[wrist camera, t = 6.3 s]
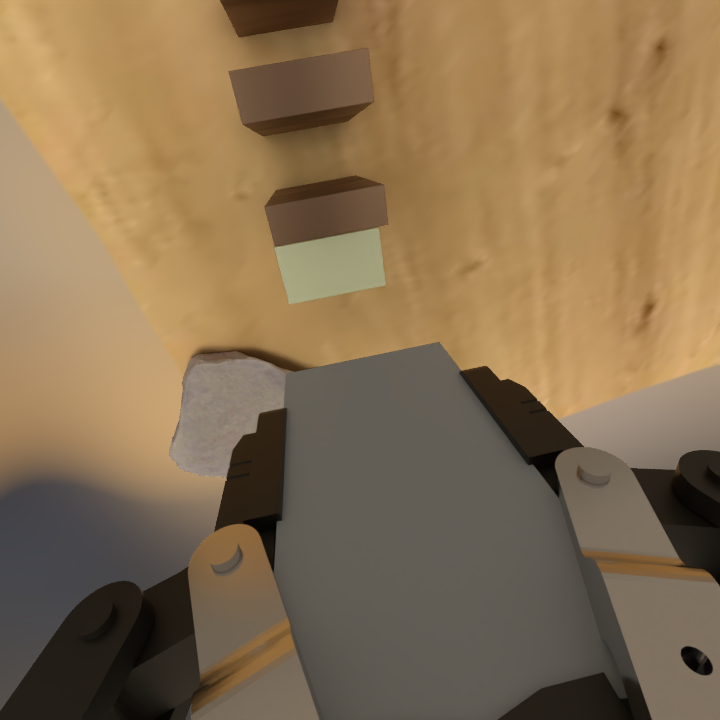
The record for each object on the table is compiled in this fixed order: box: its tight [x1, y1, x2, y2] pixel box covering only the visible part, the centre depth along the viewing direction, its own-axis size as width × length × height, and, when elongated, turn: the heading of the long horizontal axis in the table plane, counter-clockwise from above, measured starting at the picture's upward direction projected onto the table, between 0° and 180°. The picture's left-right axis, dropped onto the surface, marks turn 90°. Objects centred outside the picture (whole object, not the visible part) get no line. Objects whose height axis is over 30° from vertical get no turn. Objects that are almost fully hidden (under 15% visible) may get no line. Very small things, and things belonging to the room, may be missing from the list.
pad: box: [274, 227, 386, 305], centre depth 26 cm, size 7×4×1 cm, turn 99°
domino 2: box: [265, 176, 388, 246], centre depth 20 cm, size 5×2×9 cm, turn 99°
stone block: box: [169, 351, 293, 478], centre depth 29 cm, size 12×5×10 cm
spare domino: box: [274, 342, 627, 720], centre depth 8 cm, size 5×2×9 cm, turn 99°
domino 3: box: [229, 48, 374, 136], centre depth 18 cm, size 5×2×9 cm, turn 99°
